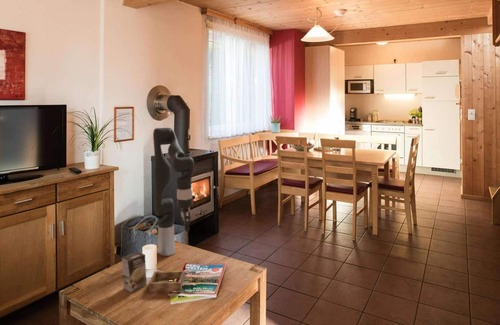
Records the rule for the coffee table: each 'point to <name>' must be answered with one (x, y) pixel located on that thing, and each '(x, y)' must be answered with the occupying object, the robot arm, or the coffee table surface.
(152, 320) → the coffee table surface
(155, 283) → the walnut box
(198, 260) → the coffee table surface
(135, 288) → the coffee box
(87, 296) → the coffee table surface
